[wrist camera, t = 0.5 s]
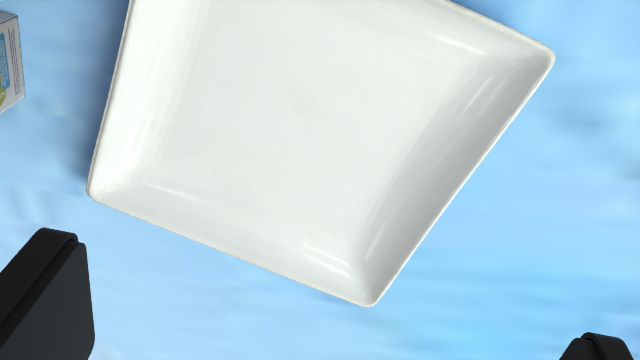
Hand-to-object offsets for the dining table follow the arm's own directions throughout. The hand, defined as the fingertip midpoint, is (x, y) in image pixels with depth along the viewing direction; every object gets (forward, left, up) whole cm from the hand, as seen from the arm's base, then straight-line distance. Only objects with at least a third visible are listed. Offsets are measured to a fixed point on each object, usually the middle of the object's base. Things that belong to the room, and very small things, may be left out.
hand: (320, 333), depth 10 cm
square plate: (+11, -1, -31) cm, 33 cm away
